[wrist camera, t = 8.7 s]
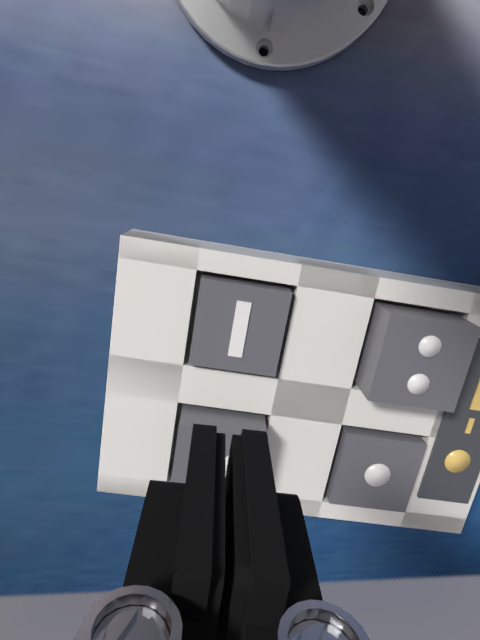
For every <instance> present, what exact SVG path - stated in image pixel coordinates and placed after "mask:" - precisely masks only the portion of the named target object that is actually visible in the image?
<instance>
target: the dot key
mask: <svg viewBox="0 0 480 640" xmlns="http://www.w3.org/2000/svg"><path fill="white" fill-rule="evenodd" d="M426 446H427V444H426V443H425V441H424V440H423V439H422V438H421V436H420V435H414V434H407V433H400V432H392V431H385V430H377V429H370V428H363V427H355V426H348V425H342V426H341V430H340V433H339V437H338V441H337V445H336V449H335V453H334V457H333V460H332V464H331V468H330V472H329V476H328V480H327V484H326V487H325V493H326V496H327V499H328V502H329V504H337V505H346V506H354V507H362V508H371V509H379V510H387V511H396V512H404V513H405V511H406V508H407V505H408V502H409V499H410V496H411V493H412V489H413V486H414V483H415V480H416V477H417V474H418V471H419V468H420V465H421V462H422V459H423V455H424V452H425V449H426Z"/></svg>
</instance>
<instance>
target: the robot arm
mask: <svg viewBox="0 0 480 640" xmlns="http://www.w3.org/2000/svg"><path fill="white" fill-rule="evenodd" d="M176 1H177V3H178V5H179V6H180V8H181V9H182V11H183V13H184V14H185V16H186V18H187V19H188V21H189V22H190V23H191V25H192V26H193V27H194V28H195V29H196V30H197V31H198V32H199V33H200V35H201V36H202V37H203V38H204V39H205V40H206V41H207V42H208V43H210V44H211V45H212V46H214V47H215V48H216V49H218V50H219V51H220V52H221V53H223V54H224V55H226V56H228V57H230V58H232V59H234V60H236V61H238V62H240V63H242V64H244V65H248V66H252V67H256V68H260V69H264V70H278V71H290V70H295V69H301V68H307V67H311V66H313V65H316V64H318V63H321V62H323V61H326V60H328V59H330V58H332V57H334V56H335V55H337V54H338V53H340V52H341V51H343V50H344V49H346V48H347V47H349V46H350V45H351V44H352V43H353V42H354V41H355V40H356V39H357V38H358V37H360V36H361V35H362V34H363V33H364V32H365V31H366V30H367V29H368V28H369V26H370V25H371V24H372V23H373V22H374V21H375V19H376V18H377V17H378V16H379V14H380V13H381V11H382V9H383V8H384V6H385V5H386V3H387V1H388V0H176ZM358 8H363V9H364V11H365V16H362V15H360V14H359V12H358V10H357V9H358ZM261 48H266V49H267V51H268V55H267V56H265V57H263V56H261V55H260V54H259V50H260V49H261ZM225 450H226V435H225V433H217V426H212V425H203V424H194V423H193V429H192V437H191V444H190V452H189V460H188V467H187V475H186V482H185V483H177V482H167V481H157V480H150V482H149V485H148V489H147V493H146V497H145V501H144V505H143V509H142V513H141V517H140V521H139V525H138V529H137V533H136V536H135V540H134V544H133V548H132V552H131V556H130V560H129V564H128V568H127V572H126V576H125V580H124V584H123V587H121V588H118V589H116V590H113V591H111V592H109V593H107V594H105V595H104V596H103V597H102V598H100V599H99V600H98V601H97V602H96V603H95V604H93V606H92V607H91V609H90V610H89V612H88V613H87V614H86V616H85V617H84V619H83V621H82V624H81V625H80V628H79V629H78V631H77V634H76V636H75V638H74V640H370V639H369V638H368V636H367V634H366V632H365V631H364V629H363V627H362V626H361V625H360V624H359V623H358V622H357V621H356V620H355V619H354V618H353V617H352V616H351V615H350V614H349V613H348V612H346V611H344V610H343V609H341V608H340V607H338V606H336V605H334V604H331V603H328V602H325V601H323V600H322V595H321V591H320V586H319V582H318V578H317V573H316V569H315V564H314V560H313V556H312V551H311V547H310V542H309V538H308V534H307V529H306V525H305V520H304V516H303V512H302V507H301V503H300V500H299V497H298V496H297V494H287V493H277V492H276V487H275V481H274V475H273V468H272V462H271V456H270V450H269V443H268V437H267V432H266V431H257V430H248V429H242V432H241V435H235V434H233V435H232V439H231V445H230V451H229V458H228V464H227V470H226V477H225Z"/></svg>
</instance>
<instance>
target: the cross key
mask: <svg viewBox="0 0 480 640" xmlns="http://www.w3.org/2000/svg"><path fill="white" fill-rule="evenodd" d="M193 423H194V424H203V425H212V426H217V433H225V435H226V450H225V477H226V470H227V464H228V458H229V451H230V445H231V439H232V435H233V434H235V435H241V432H242V429H248V430H257V431H266V432H267V427H266V422H265V416H264V414H259V413H252V412H244V411H237V410H229V409H222V408H215V407H207V406H200V405H193V404H185V403H183V406H182V411H181V416H180V422H179V428H178V434H177V441H176V448H175V455H174V462H173V469H172V476H171V482H177V483H185V482H186V475H187V467H188V460H189V452H190V444H191V437H192V429H193ZM267 437H268V433H267Z"/></svg>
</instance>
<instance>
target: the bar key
mask: <svg viewBox="0 0 480 640" xmlns="http://www.w3.org/2000/svg"><path fill="white" fill-rule="evenodd" d="M292 293H293V292H292V291H291V289H290V288H289V286H288V285H287V284H282V283H276V282H269V281H263V280H257V279H251V278H244V277H238V276H232V275H225V274H219V273H213V272H207V271H203V272H202V275H201V280H200V287H199V294H198V301H197V308H196V315H195V322H194V328H193V335H192V342H191V349H190V356H189V363H188V365H195V366H202V367H209V368H216V369H223V370H230V371H237V372H244V373H251V374H258V375H265V376H272V377H275V376H276V371H277V366H278V361H279V357H280V352H281V347H282V342H283V337H284V332H285V327H286V323H287V318H288V313H289V308H290V303H291V298H292Z"/></svg>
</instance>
